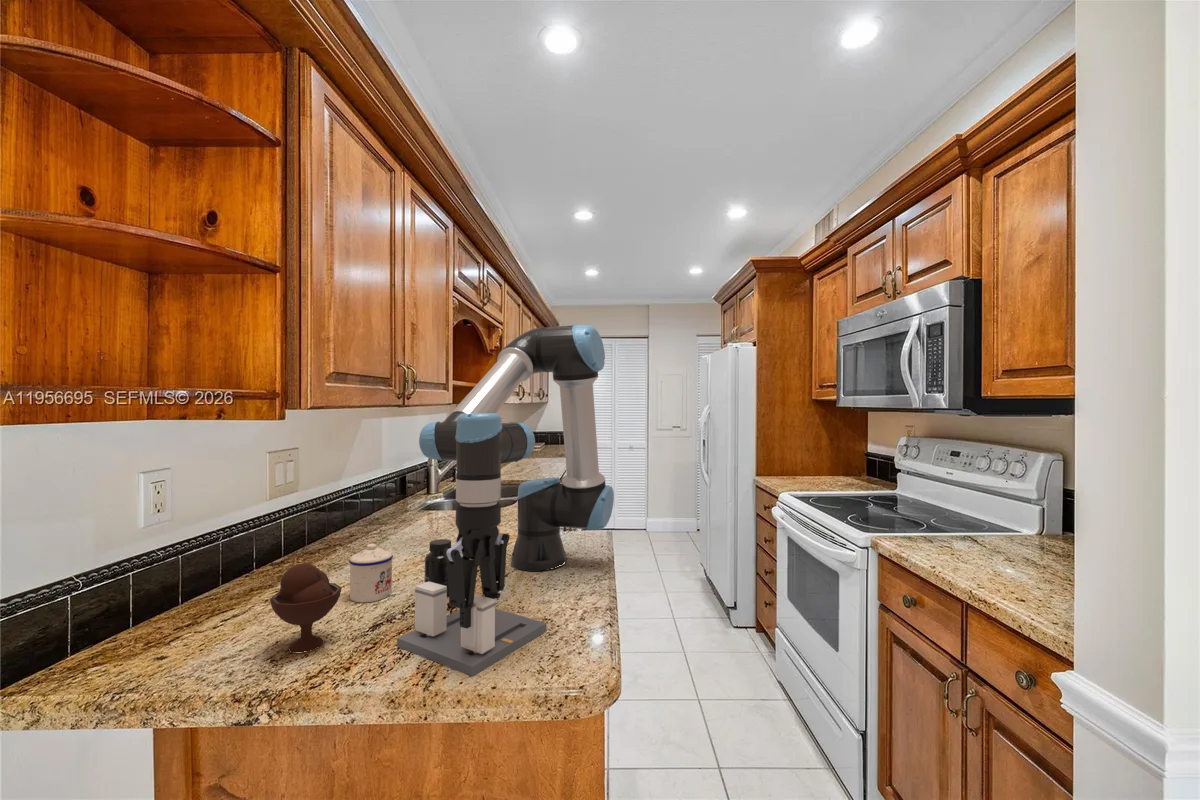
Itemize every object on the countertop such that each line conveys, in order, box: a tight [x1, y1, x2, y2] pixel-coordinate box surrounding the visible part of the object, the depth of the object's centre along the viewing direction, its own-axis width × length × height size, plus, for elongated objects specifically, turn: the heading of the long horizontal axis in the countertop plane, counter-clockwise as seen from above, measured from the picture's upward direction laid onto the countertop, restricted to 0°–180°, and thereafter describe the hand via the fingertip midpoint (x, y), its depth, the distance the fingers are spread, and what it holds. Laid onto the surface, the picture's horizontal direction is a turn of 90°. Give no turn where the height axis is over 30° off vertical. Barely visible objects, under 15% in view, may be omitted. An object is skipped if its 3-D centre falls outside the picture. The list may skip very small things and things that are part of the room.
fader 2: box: [461, 593, 496, 654], centre depth 85 cm, size 3×5×9 cm, turn 58°
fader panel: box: [396, 608, 547, 677], centre depth 92 cm, size 19×19×2 cm
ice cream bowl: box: [269, 562, 343, 653], centre depth 89 cm, size 11×11×15 cm
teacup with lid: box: [348, 543, 394, 603], centre depth 115 cm, size 12×9×12 cm
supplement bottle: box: [423, 538, 452, 598], centre depth 115 cm, size 7×7×12 cm
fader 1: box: [414, 581, 448, 636], centre depth 91 cm, size 3×5×9 cm, turn 58°
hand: (477, 640), depth 85 cm, fingers closed on fader 2, 3 cm apart
